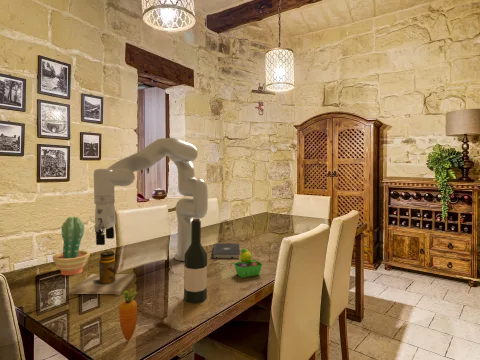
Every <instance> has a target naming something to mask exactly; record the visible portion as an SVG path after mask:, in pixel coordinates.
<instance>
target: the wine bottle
mask: <svg viewBox="0 0 480 360" xmlns="http://www.w3.org/2000/svg"><path fill="white" fill-rule="evenodd" d="M200 219H201V218H194V219H193V221H192V224H191V245H190V246H189V248H188V250H187V251H186V253H185V257H184V261H183V262H184V263H183V264H184V266H183V267H184V269H183V270H184V271H183V272H184V273H183V274H184V277H183V279H184V281H183V283H184V285H183V286H184V287H183V288H184V289H183V291H184V294H183V299H184V300H185V302H186V303H190V304H199V303H204V302H205V300H207V297H208V295H207V294H208V293H207V292H208V288H207V287H208V253H207V251H206V250H205V248H204V247H203V245H202V243H201V241H202V239H201V236H202V234H201V233H202V226H201V225H202V221H201V220H200Z"/></svg>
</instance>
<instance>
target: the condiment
mask: <svg viewBox="0 0 480 360" xmlns="http://www.w3.org/2000/svg"><path fill="white" fill-rule="evenodd" d="M99 255H100V259H99V260H98V261H99V264H98V265H99V267H98V268H99V271H98V272H99V273H98V274H99V276H100V279H98V280H92V281H93V283H94V285H95V287H97V286H102V285H109V284H114V283H118V281H117V280H116V279H115V274H117V273H116V258H115V252H114V251H111V250H110V251H102V252H101V253H100V254H99Z"/></svg>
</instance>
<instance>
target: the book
mask: <svg viewBox="0 0 480 360" xmlns="http://www.w3.org/2000/svg"><path fill="white" fill-rule="evenodd" d="M239 255H241V251H240V243H218V242H217V243H216V242H214V245H213V249H212V254H211V257H212V258H211V259H239ZM216 257H217V258H216ZM231 257H233V258H231Z"/></svg>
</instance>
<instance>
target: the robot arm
mask: <svg viewBox="0 0 480 360" xmlns="http://www.w3.org/2000/svg"><path fill="white" fill-rule="evenodd" d="M198 154H199V152H198V149H197V147H196V146H195V145H193V144H191V143H189V142H186V141H183V140H181V139H177V138H174V137H167V138H166V137H165V138H158V139H156V140H154V141H153V142H151V143H149V144H148V145H147V146H145V147H144V148H143V149H141V150H139V151H138V152H135V153H133V154H131V155H129V156H127V157H123V158H122V159H119V160H118V161H116V162H115V163H113V164H111V165H110V166H108V167H107V168H96V169H95V170H94V171H93V202H94V203H93V204H94V205H95V209H94V212H95V213H94V232H95V245H96V246H105V244H106V239H109V240H110V239H113V240H114V239H115V225H116V224H117V220H116V219H117V217H116V207H115V202H116V201H115V199H116V198H115V195H116V194H115V187H116V186H117V187H119V186H120V187H127V186H131V184H133V183H134V181H135V179H136V176H135V173H134V172H139V171H143V170H146V169H149V168H152V167H153V166H154V165H155V164H156V163H158V162H159V161H161V160H162V159H163V158H165V157H168V159H169V160H171V161H172V162H173V163H174V164H175V166H176V168H177V169H176V170H177V183H178V184H177V185H178V186H177V187H178V192H179V194H180V195H181V196H185V197H186V198H185V197H184V198H180V199H179V200H178V201H177V202H176V204H175V214H176V217H177V253H176V254H175V255H173V256H174V260H175V261H176V260H177V261H181V262H184V257H185V253H186V251H187V250H188V248H189V246H190V245H191V224H192V221H193V219H194V218H199V219H202V218H204V217H206V215H207V213H208V208H209V206H208V201H209V200H208V199H209V198H208V195H209V194H208V185H207V183H206V181H205V180H203V179H202V178H196V175H195V166H194V164H193V162H194V161H196V159H197V158H198ZM187 197H188V198H187ZM189 197H192V198H189Z"/></svg>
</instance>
